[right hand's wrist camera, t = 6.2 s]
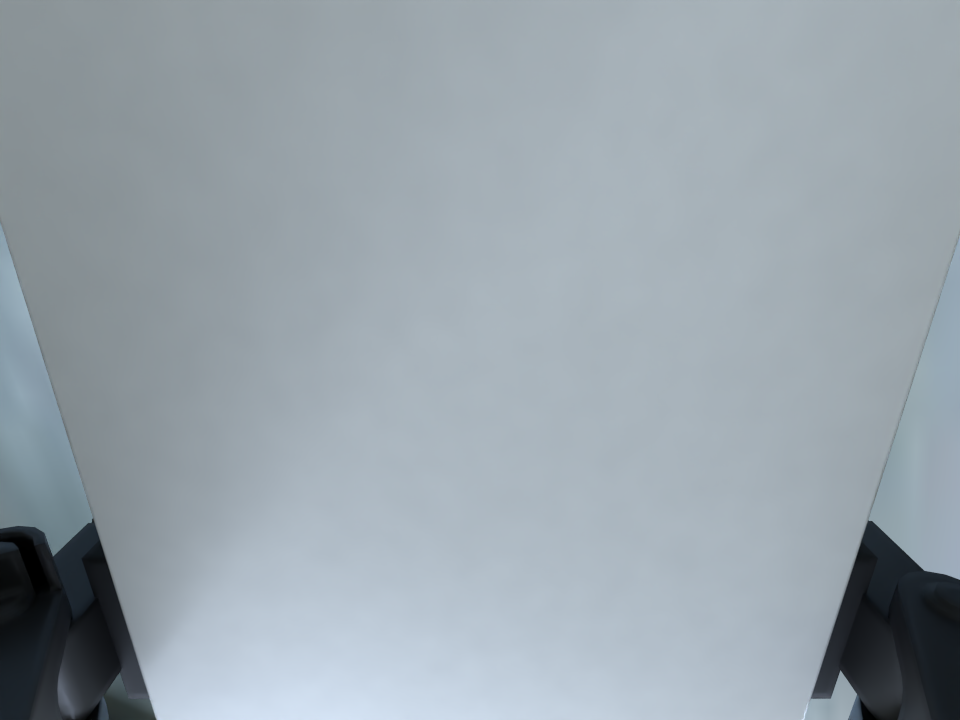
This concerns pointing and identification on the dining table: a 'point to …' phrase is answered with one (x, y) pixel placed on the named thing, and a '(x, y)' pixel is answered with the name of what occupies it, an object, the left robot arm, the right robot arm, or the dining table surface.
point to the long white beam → (480, 335)
